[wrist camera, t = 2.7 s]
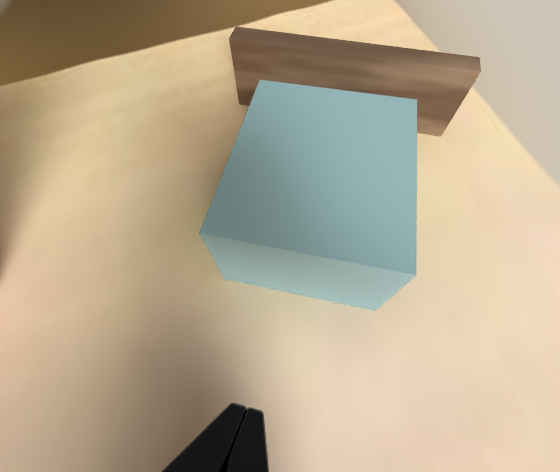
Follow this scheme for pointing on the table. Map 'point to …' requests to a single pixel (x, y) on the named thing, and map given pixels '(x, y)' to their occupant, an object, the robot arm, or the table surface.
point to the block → (319, 195)
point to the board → (355, 70)
